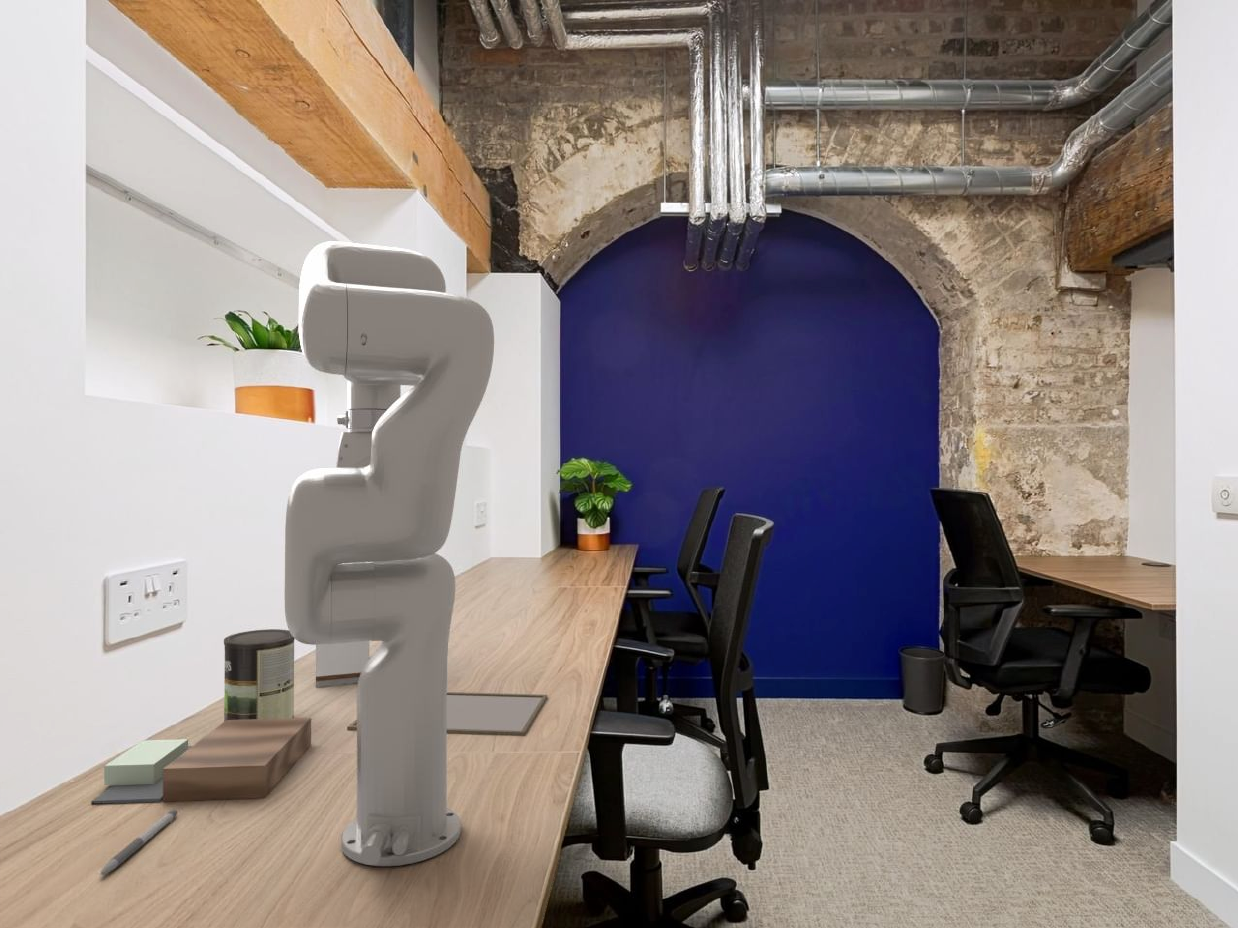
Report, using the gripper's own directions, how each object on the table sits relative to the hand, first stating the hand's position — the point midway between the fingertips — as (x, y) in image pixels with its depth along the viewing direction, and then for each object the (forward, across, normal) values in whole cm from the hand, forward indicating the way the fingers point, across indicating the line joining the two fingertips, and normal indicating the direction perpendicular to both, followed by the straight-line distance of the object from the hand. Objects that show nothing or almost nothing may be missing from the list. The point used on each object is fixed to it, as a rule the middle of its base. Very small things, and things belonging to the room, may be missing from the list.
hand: (374, 546), depth 112 cm
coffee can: (+29, -20, +10) cm, 37 cm away
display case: (+29, -14, +37) cm, 49 cm away
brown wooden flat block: (+29, -15, -9) cm, 34 cm away
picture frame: (+30, +10, +13) cm, 34 cm away
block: (+26, -27, -9) cm, 39 cm away
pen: (+30, -18, -29) cm, 45 cm away
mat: (+29, -25, -9) cm, 40 cm away
